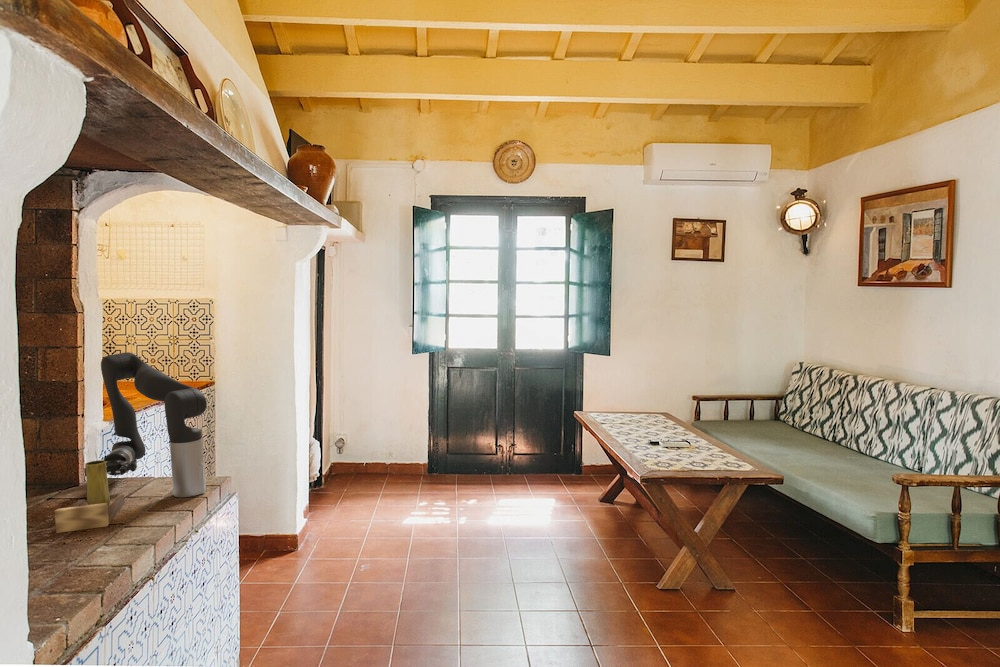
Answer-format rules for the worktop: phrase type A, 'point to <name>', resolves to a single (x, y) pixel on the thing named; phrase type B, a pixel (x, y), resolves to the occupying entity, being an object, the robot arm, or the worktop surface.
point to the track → (86, 515)
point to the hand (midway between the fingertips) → (106, 473)
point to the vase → (97, 483)
